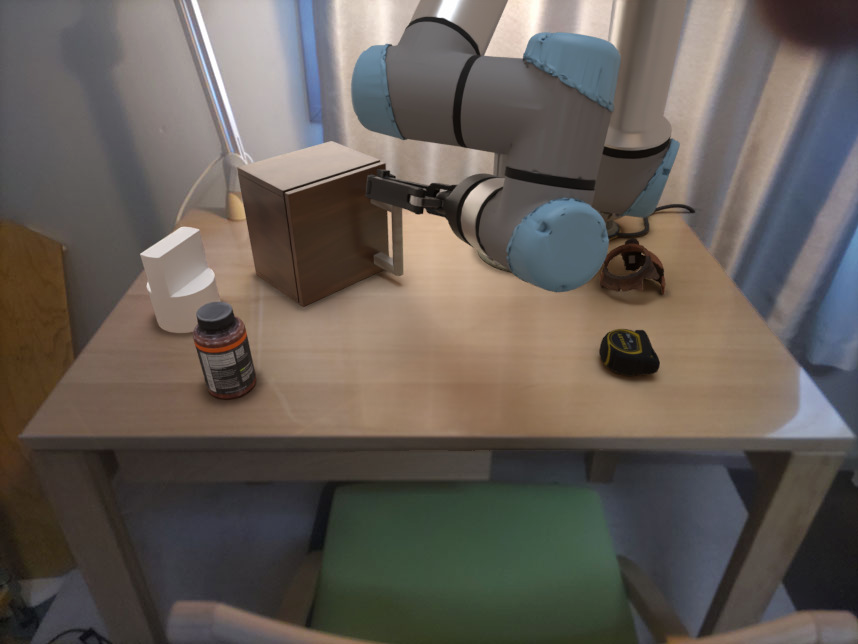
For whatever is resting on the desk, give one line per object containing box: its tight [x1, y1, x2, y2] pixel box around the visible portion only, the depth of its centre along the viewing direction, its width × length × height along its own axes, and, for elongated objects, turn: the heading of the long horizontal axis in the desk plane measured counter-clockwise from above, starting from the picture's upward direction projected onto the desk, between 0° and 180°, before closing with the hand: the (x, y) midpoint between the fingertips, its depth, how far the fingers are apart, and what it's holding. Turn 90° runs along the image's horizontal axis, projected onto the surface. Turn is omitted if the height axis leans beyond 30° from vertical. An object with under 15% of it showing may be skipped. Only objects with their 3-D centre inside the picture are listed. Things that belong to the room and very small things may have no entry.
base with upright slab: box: [139, 226, 222, 334], centre depth 84 cm, size 9×9×12 cm
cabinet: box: [236, 140, 381, 305], centre depth 93 cm, size 12×17×18 cm
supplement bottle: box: [192, 301, 257, 400], centre depth 72 cm, size 6×6×11 cm
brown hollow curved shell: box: [599, 237, 667, 295], centre depth 94 cm, size 12×10×8 cm
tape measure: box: [598, 328, 661, 377], centre depth 78 cm, size 7×7×4 cm
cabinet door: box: [284, 161, 405, 307], centre depth 88 cm, size 7×17×18 cm, turn 134°
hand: (428, 185), depth 79 cm, fingers open, 13 cm apart
